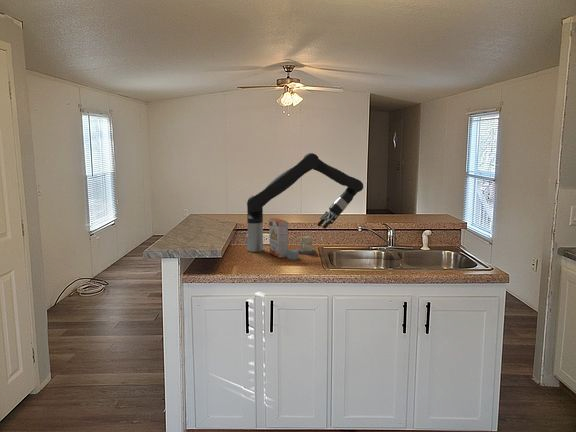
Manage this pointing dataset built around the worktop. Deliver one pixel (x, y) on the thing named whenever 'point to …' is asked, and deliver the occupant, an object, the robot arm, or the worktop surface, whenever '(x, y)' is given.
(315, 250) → the charcoal pad
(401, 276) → the worktop surface
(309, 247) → the birch block
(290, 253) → the slate cube
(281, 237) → the cracker box
